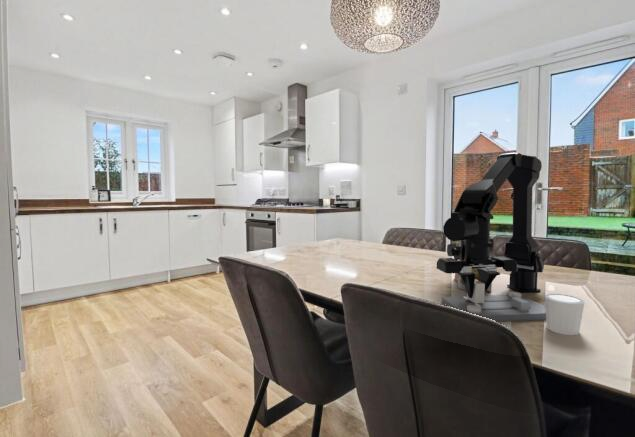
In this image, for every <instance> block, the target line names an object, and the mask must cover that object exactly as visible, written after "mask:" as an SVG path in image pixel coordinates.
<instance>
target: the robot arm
mask: <svg viewBox="0 0 635 437" xmlns="http://www.w3.org/2000/svg"><path fill="white" fill-rule="evenodd" d="M542 168H543V167H542V161H541V159H539V158H538V157H537V156H535V155H532V156H531V155H526V154H522V153H519V152H516V151H515V152H508V153H501V154H499V155H497V158H496V161H495V162H494V164H493V165H492V166H491V167H490V168H489V170H488V171H487V172H486V173H485V174H484V176H482V177H481V179H480V180H479V181H477V182H474V183H472V184H470V185H469V186H467V187H466V188H464V190H463V191H462V193H461V195H460V197H459V199H458V201H457V203H456V206H455V208H454V211H453V212H450V218H448V219H446V220H445V222H444V225H443V227H442V232H443V235H444V237H446V238H447V239H448V240H449V241H451V242H459V241H460V240H462V242H461V246H459V245H457V244H456V243H449V244H447V248H446V254H447V257H444V258H443V257H441V258H438V259H437V261H436V269H437V270H439V271H441V272H443V273H445V274H455V273H458V274H459V275H460V276H461V278H462V280H463V283H464V286H465V288H466V290H465V292H466V295H467V294H468V297H469V298H472V296H473V291H474V281H475V274H474V273H472V268H477V271H478V274H479V281H480V282H483V283H485V293H486V291H487V289H488V287H489V286H490V284H491V283H492V284H493V282H494V280H495V279H496V277H497V276H500V275H501V272H500V271H498V269H499V268H502V270H504V271H505V272H510V273H509V284H507V287H508V288H510V289H512V290H514V291H516V292H519V293H534V292H535V293H536V292H537V293H538V292H541V291H542V290H541V289H540V288H538V274H539V273H543V272H544V268H545V262H544V261H543V259H542V256H541V255H540V253H539V245H538V244H537V242H536V240H535V239H534V238H533V235H532V231H533V230H532V228H533V227H532V224H533V187H534V186H535V184H536V183H537V182H538V180H539V179H540V172H541V170H542ZM506 181H508V183H509V185H511V187H512V236H511V237H510V240H509V241H507V242H505V246H504V247H505V251H504V256H493V257H491V258H490V259H489V247H493V248H494V244H493V243H491V242H489V240H490V237H491V235H490V233H491V220H494V215H493V214H491V212H492V210H493V209H494V207H495V206H496V204H497V202H498V200H499V197H498V191H499V190H500V189H501V187H502V186H503V185H504V183H505V182H506ZM459 259H460V260H464V261H459ZM470 264H472V265H470ZM473 264H474V265H473ZM479 264H480V265H479Z"/></svg>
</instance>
